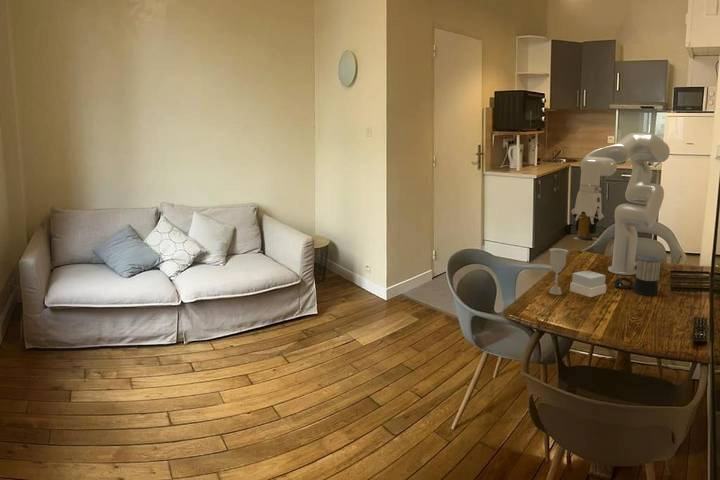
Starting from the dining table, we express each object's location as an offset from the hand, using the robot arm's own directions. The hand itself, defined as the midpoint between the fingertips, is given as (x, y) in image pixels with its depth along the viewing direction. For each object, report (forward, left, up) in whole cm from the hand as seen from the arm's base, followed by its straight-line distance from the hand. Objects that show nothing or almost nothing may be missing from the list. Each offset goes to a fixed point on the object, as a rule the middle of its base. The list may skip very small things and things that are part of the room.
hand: (585, 231), depth 249 cm
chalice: (+16, 0, -24) cm, 29 cm away
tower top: (+4, +7, -20) cm, 22 cm away
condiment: (0, +1, -3) cm, 4 cm away
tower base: (+4, +7, -24) cm, 26 cm away
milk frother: (-14, +16, -24) cm, 32 cm away
